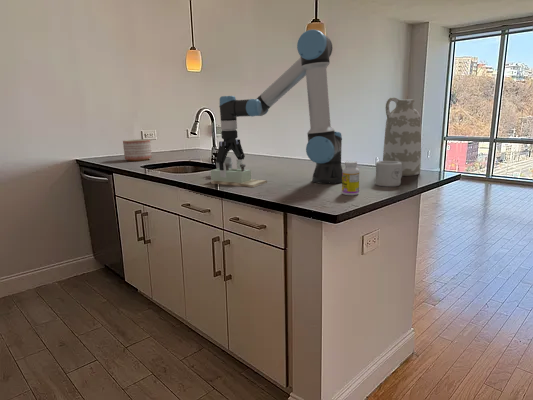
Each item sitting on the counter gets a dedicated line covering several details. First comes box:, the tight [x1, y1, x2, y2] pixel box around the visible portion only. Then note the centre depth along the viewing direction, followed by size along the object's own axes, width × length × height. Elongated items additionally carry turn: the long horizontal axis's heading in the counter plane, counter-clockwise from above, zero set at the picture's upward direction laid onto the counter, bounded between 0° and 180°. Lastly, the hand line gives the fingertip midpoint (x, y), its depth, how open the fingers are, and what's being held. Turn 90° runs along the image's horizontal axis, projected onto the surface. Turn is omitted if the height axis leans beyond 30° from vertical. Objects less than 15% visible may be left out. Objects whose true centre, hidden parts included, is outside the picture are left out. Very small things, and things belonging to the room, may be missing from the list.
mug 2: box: [374, 160, 403, 188], centre depth 173 cm, size 14×11×10 cm
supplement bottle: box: [341, 160, 360, 196], centre depth 155 cm, size 7×7×13 cm
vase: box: [382, 96, 422, 177], centre depth 198 cm, size 20×19×38 cm
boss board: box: [210, 163, 268, 188], centre depth 186 cm, size 24×12×9 cm, turn 59°
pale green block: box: [210, 168, 252, 183], centre depth 189 cm, size 18×8×5 cm, turn 59°
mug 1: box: [215, 156, 233, 169], centre depth 210 cm, size 8×12×12 cm, turn 44°
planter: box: [122, 138, 152, 162], centre depth 292 cm, size 19×19×15 cm
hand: (231, 174), depth 188 cm, fingers open, 13 cm apart
